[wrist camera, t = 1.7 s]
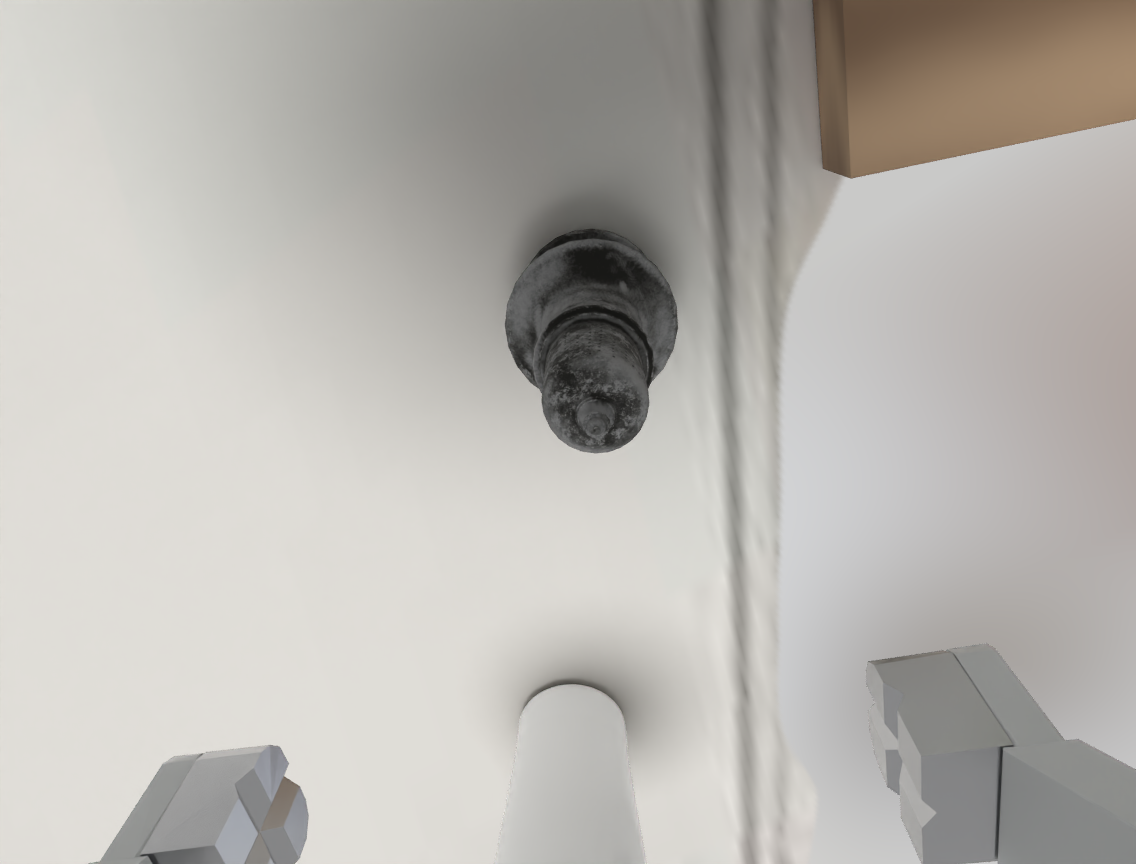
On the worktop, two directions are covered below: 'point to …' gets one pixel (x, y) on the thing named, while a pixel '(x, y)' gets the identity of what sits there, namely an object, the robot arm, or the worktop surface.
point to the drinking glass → (571, 784)
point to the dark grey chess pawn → (592, 335)
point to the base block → (966, 76)
